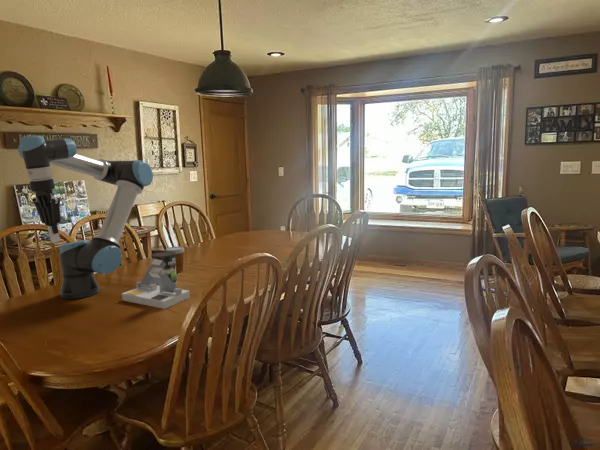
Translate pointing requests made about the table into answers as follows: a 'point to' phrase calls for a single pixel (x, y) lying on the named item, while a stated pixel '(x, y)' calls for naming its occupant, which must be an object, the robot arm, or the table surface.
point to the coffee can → (167, 264)
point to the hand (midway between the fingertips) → (55, 241)
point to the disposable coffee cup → (178, 257)
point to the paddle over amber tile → (148, 278)
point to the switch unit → (155, 296)
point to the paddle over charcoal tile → (162, 280)
